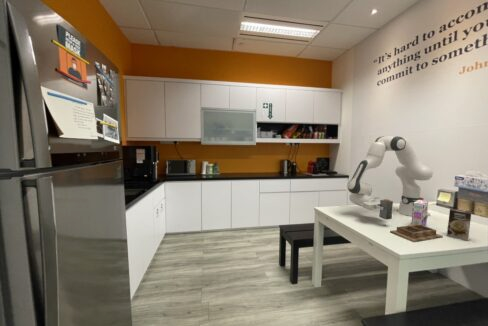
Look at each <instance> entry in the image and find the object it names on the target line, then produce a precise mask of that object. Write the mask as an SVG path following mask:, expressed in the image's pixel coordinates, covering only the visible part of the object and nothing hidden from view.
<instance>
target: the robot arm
mask: <svg viewBox="0 0 488 326" xmlns="http://www.w3.org/2000/svg"><path fill="white" fill-rule="evenodd" d="M393 151H394V153H395V155H396V158H397V160H398V162H399V163H400V164H401V165H400V164H399V165H398V166H397V167H395V170H394V171H395V172H394V173H395V175H396V176H398V178H399V180H400V182H401V185H402V193H401V199H400V201H399V206H398V209H397V210H398V213H399V214H400V215H404V216H409V217H412V212H413V203H414V202H416V201H418V200H422V201H425V199H424V197H422V196H421V190H422V189H421V186H419V185H418V184H417V182H416V181H430V180H431V178H432V177H433V175H434V174H433V173H434V172H433V170H432V169H431V168H430V167H429V166H427V165H424V163H422V162H421V161H420V160H419V159H418V157H417V155H416V153H415V151H414V149H413V146H412V144H411V143H410V142H409V140H408V139H407V138H406V137H401V136H394V135H387V136H383V135H382V136H379V137H377V138H376V139H375V140H374V142H372V143H371V144H370V147H369V148H368V151H367V153H366V156H365V158H364V159H363V160H361V161H360V162H359V164H358V166H357V167H356V169H355V171H354V173H353V175H352V177H351V178H350V180H349V182H348V183H347V190H348V191H349V193H350V195H349V201H350V202H351V203H352V204H354V205H356V206H360V207H362V208H363V209H366V210H369V211H372V210H380V209H381V210H384V207H381V206H380V200H383V199H381V198H380V197H373V196H371V195H372V192H373V188H372V185H371V184H369V183H367V182H364V181H361V180H362V178H363V176H364V174H365V173H366V171H368V170H370V169H376V168H378V167H380V166H381V164H382V163H383V160H384V156H385V153H386V152H393ZM429 216H431V213H429V212H427V217H429Z"/></svg>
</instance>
